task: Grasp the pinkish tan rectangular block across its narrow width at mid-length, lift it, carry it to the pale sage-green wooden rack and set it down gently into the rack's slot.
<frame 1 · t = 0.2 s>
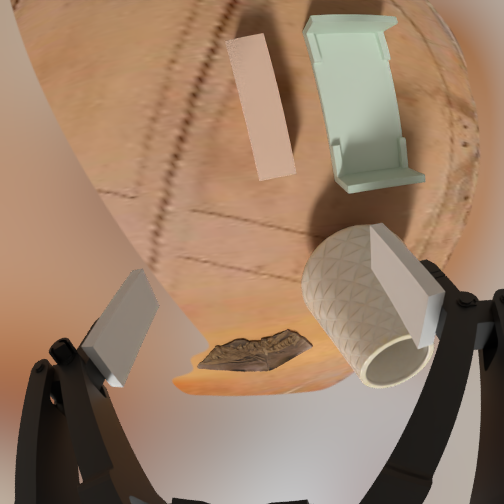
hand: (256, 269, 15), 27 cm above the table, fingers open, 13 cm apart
wooden fragment: (250, 354, 56), on the table
rack: (358, 100, 33), on the table
vase: (347, 258, 45), on the table
pinkish tan rectangular block: (261, 107, 35), on the table
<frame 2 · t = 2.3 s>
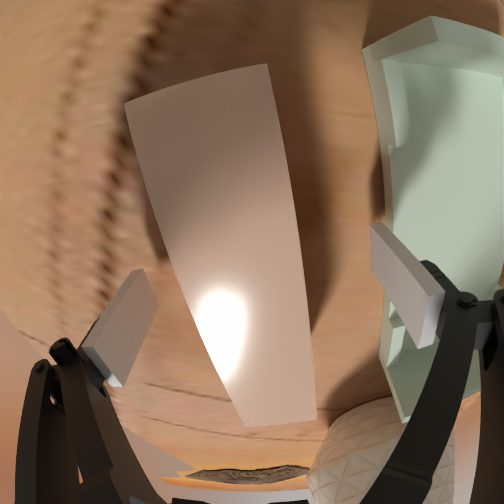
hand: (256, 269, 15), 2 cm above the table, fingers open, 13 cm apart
wooden fragment: (243, 474, 39), on the table
rack: (454, 223, 16), on the table
vase: (371, 418, 28), on the table
pinkish tan rectangular block: (255, 245, 17), on the table
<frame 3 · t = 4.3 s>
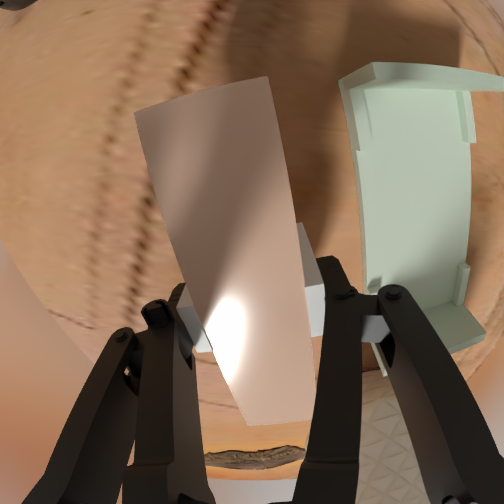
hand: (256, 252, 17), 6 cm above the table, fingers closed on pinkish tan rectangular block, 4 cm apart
wooden fragment: (246, 458, 43), on the table
rack: (417, 209, 21), on the table
vase: (363, 393, 32), on the table
pinkish tan rectangular block: (257, 249, 18), point 5 cm above the table, touching gripper
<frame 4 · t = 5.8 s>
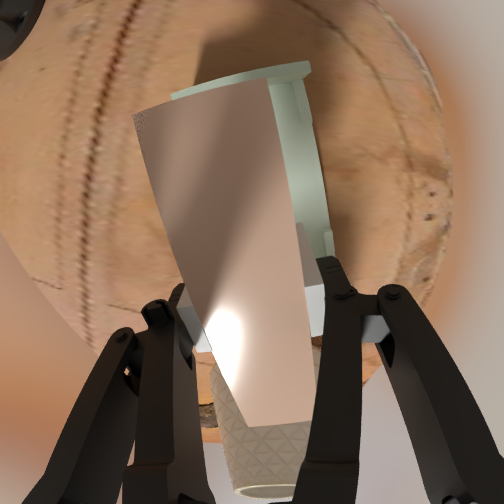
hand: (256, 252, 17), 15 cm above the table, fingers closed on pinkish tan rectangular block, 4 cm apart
wooden fragment: (194, 414, 53), on the table
rack: (269, 184, 30), on the table
vase: (271, 349, 42), on the table
pinkish tan rectangular block: (257, 250, 18), point 14 cm above the table, touching gripper
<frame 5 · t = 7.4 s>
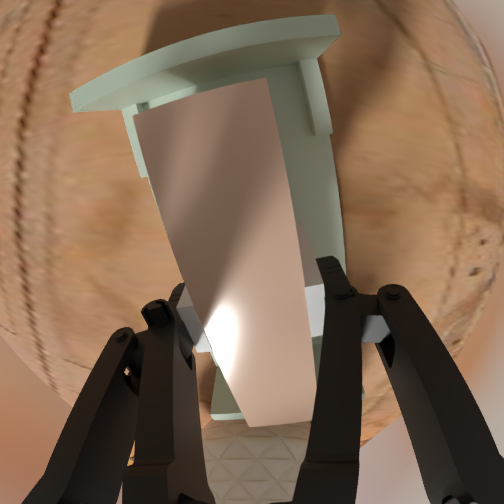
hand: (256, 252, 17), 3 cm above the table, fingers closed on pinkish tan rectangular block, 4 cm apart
rack: (256, 233, 19), on the table
vase: (259, 419, 31), on the table
pinkish tan rectangular block: (257, 250, 18), point 2 cm above the table, touching gripper
when the fingers open (2 cm above the table, at t = 7.7 s): pinkish tan rectangular block stays where it is, resting on rack.
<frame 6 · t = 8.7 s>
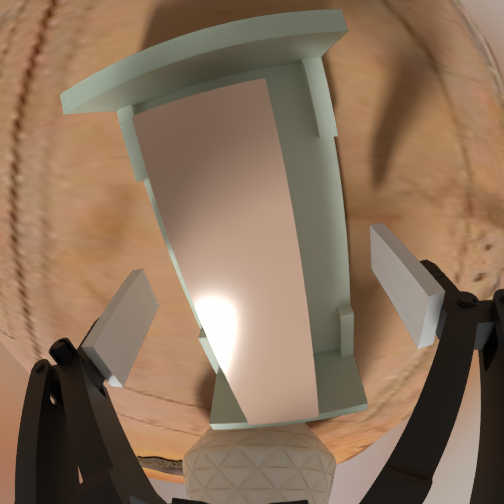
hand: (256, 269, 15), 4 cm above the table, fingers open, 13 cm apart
wooden fragment: (175, 464, 42), on the table
rack: (257, 239, 19), on the table
vase: (260, 425, 30), on the table
pinkish tan rectangular block: (257, 249, 18), point 1 cm above the table, touching rack
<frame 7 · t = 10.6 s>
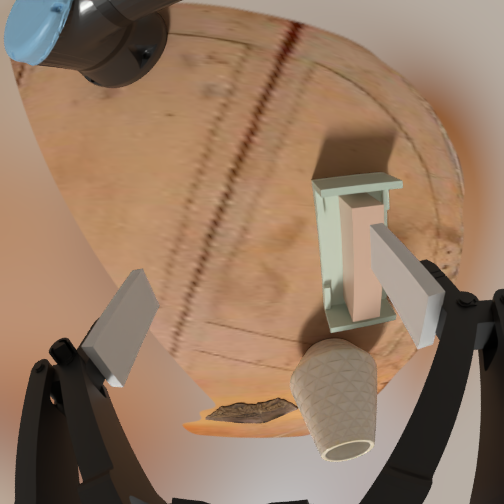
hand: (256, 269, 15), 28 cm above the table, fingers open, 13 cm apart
wooden fragment: (248, 411, 65), on the table
rack: (353, 244, 44), on the table
vase: (328, 356, 55), on the table
pinkish tan rectangular block: (355, 248, 43), point 1 cm above the table, touching rack
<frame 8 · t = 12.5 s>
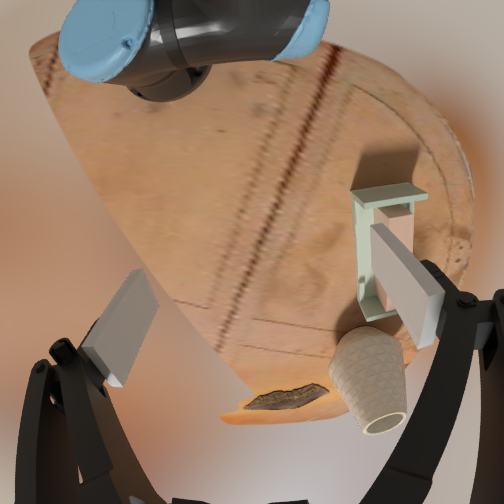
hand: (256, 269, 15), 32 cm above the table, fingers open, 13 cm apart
wooden fragment: (284, 398, 72), on the table
rack: (383, 244, 49), on the table
vase: (359, 342, 61), on the table
pinkish tan rectangular block: (385, 248, 48), point 1 cm above the table, touching rack
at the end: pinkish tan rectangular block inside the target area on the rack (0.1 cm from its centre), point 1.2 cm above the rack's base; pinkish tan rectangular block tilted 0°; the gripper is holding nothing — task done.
